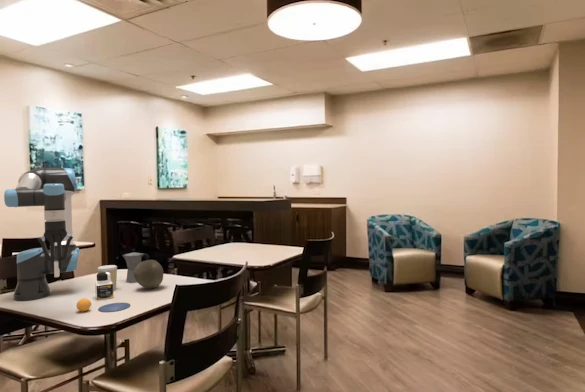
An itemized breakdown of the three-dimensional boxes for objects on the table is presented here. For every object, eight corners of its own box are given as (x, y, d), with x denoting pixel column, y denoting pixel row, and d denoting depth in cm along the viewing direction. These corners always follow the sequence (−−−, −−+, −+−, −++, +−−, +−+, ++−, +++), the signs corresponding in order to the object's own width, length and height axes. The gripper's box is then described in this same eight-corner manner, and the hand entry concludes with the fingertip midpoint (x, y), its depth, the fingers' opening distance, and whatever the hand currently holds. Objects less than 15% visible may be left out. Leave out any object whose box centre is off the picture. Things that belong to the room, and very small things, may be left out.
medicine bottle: (97, 300, 187) (96, 275, 186) (95, 296, 193) (94, 272, 193) (113, 297, 191) (112, 273, 190) (111, 294, 197) (110, 270, 196)
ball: (75, 314, 167) (75, 301, 167) (77, 310, 172) (77, 297, 172) (90, 312, 169) (90, 299, 169) (91, 308, 174) (91, 296, 174)
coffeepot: (119, 283, 220) (118, 250, 219) (126, 279, 229) (125, 248, 229) (146, 282, 219) (145, 250, 219) (153, 278, 229) (152, 247, 228)
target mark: (97, 313, 167) (97, 313, 167) (99, 305, 179) (99, 304, 179) (130, 309, 172) (130, 309, 172) (130, 301, 184) (130, 301, 184)
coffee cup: (121, 287, 210) (120, 264, 210) (111, 292, 201) (110, 268, 201) (104, 287, 211) (103, 264, 211) (94, 292, 202) (93, 268, 201)
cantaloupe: (149, 284, 216) (149, 256, 215) (169, 286, 210) (168, 258, 209) (128, 290, 203) (128, 261, 203) (149, 293, 197) (148, 263, 196)
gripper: (34, 222, 160) (37, 280, 160) (71, 220, 165) (73, 276, 165) (38, 220, 167) (40, 276, 167) (73, 219, 172) (75, 273, 172)
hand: (57, 276), depth 166 cm, fingers closed
